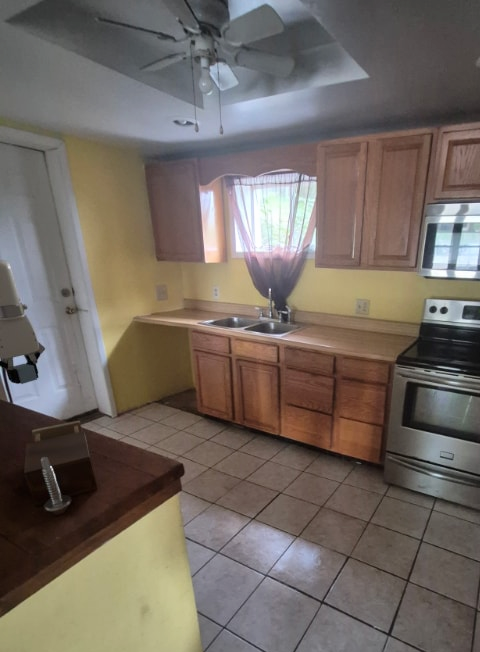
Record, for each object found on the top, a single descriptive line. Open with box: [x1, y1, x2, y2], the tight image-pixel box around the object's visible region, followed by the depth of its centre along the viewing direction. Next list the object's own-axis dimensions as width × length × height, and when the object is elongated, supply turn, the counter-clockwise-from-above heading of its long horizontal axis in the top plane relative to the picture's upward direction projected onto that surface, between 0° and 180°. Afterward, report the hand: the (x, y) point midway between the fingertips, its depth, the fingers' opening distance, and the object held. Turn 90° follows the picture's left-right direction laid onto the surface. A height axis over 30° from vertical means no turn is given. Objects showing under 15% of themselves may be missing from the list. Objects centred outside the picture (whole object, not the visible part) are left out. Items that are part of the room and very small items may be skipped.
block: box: [14, 363, 38, 385], centre depth 100 cm, size 4×4×4 cm
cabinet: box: [23, 430, 99, 508], centre depth 84 cm, size 14×12×9 cm
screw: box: [41, 457, 73, 516], centre depth 74 cm, size 13×5×5 cm
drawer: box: [31, 420, 83, 442], centre depth 93 cm, size 17×10×7 cm, turn 32°
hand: (24, 379), depth 100 cm, fingers closed on block, 4 cm apart
